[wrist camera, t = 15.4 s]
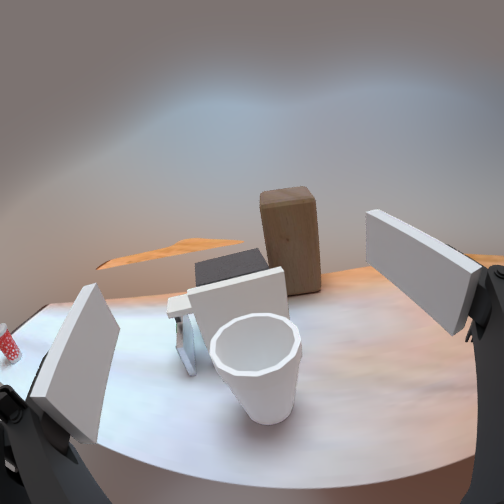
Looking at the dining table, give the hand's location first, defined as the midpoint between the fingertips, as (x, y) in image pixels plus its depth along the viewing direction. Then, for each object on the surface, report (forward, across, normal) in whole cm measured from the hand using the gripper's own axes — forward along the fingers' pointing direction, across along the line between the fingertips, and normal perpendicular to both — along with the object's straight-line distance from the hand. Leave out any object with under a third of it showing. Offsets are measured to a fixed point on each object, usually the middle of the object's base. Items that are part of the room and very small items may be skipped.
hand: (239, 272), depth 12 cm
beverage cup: (+30, -60, -26) cm, 72 cm away
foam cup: (+10, 0, -27) cm, 29 cm away
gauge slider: (+22, -2, -25) cm, 34 cm away
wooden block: (+38, +13, -27) cm, 48 cm away
